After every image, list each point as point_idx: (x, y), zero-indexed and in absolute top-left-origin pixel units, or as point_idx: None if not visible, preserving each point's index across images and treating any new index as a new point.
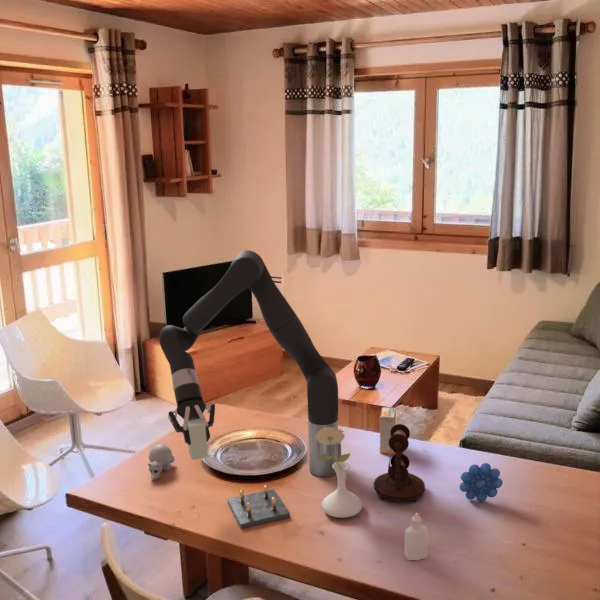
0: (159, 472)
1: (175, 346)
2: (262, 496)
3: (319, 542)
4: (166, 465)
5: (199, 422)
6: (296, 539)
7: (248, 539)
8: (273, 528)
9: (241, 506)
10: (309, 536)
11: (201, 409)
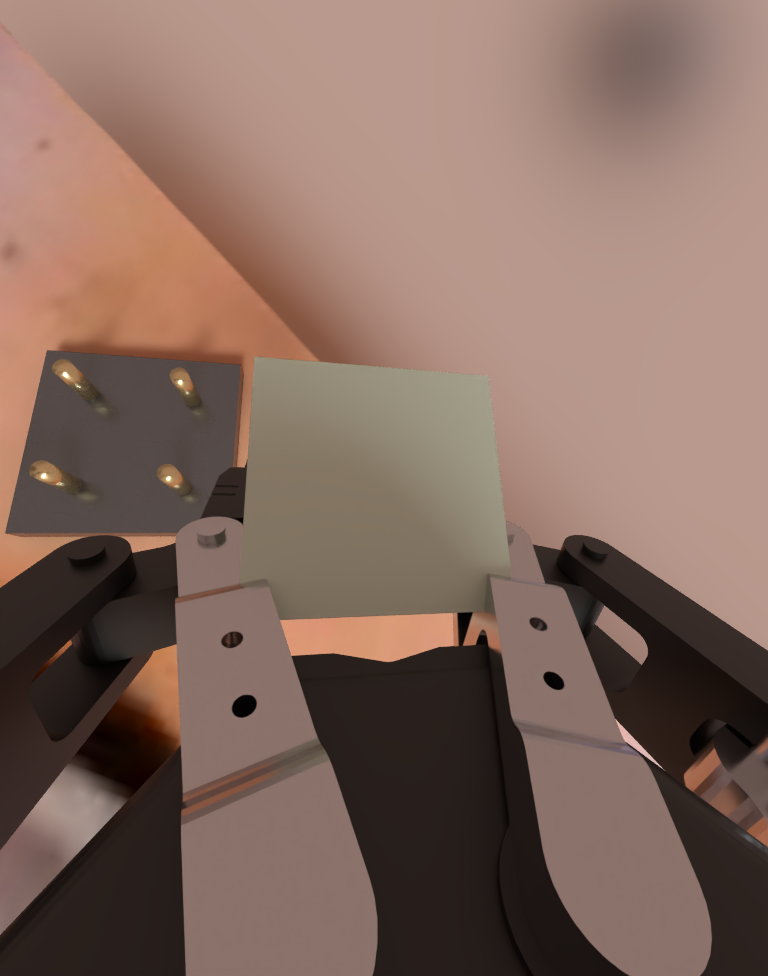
0: None
1: None
2: (86, 493)
3: (48, 219)
4: None
5: (325, 455)
6: (106, 260)
7: (241, 321)
8: (144, 334)
9: (197, 459)
10: (59, 254)
11: (128, 880)
